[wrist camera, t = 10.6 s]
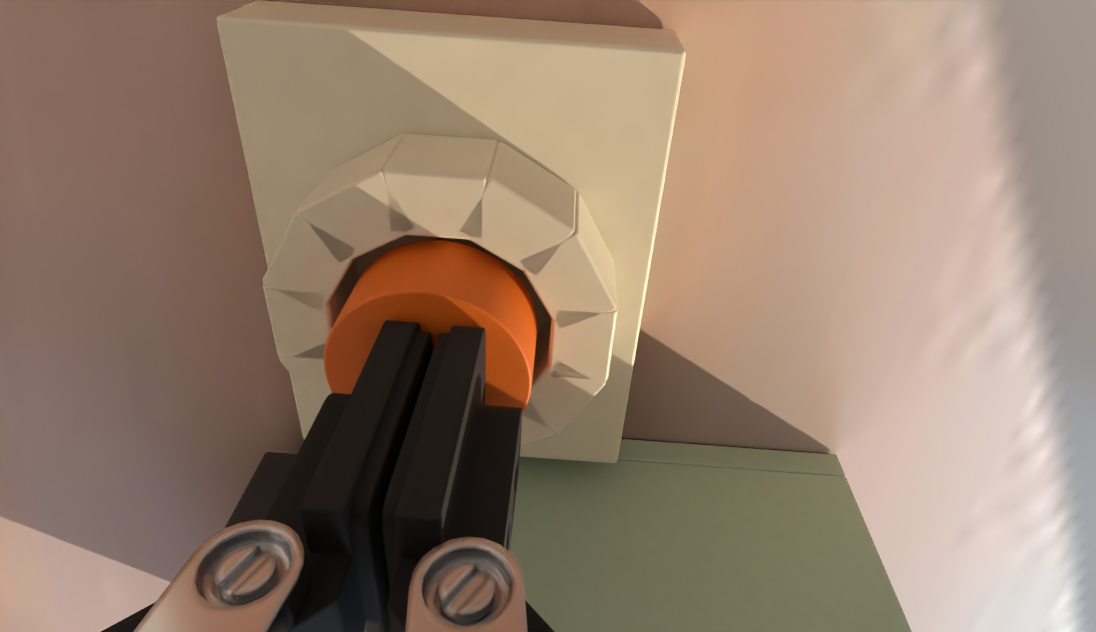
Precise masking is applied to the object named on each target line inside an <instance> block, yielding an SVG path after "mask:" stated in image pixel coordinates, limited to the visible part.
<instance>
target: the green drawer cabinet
mask: <svg viewBox="0 0 1096 632" xmlns="http://www.w3.org/2000/svg"><path fill="white" fill-rule="evenodd" d="M509 552H510V553H511V554H512V555H513V556H514V558H515V559H516V561H517V562H518V564H519V565H520V568H521V572H522V576H523V580H524V591H525V600H526V601H527V602H528V603H529V604H530V606H531V607H532V608H533V609H534V610H535V611H536V612H537V613H538V614H539V615H540V616H541V617H542V619H543V620H544V621H545V622H546V623H547V624H548V625H549V626H550V627H551V628H552V629H553V630H554V632H912V631H911V629H910V627H909V624H908V622H907V620H906V617H905V615H904V613H903V610H902V608H901V606H900V603H899V601H898V599H897V596H896V594H895V592H894V589H893V587H892V585H891V582H890V580H889V577H888V575H887V573H886V570H885V568H884V566H883V563H882V561H881V559H880V556H879V554H878V552H877V549H876V547H875V545H874V542H873V540H872V538H871V535H870V533H869V531H868V528H867V526H866V524H865V521H864V519H863V516H862V514H861V512H860V509H859V507H858V505H857V502H856V500H855V498H854V495H853V493H852V491H851V488H850V486H849V484H848V481H847V479H846V477H845V474H844V472H843V469H842V467H841V465H840V462H839V460H838V458H837V456H836V455H834V454H820V453H807V452H793V451H780V450H766V449H753V448H739V447H726V446H712V445H699V444H685V443H672V442H658V441H644V440H631V439H621V444H620V450H619V456H618V461H617V462H616V463H601V462H588V461H574V460H561V459H548V458H534V457H521V456H520V461H519V472H518V482H517V491H516V500H515V508H514V517H513V525H512V533H511V542H510V550H509Z"/></svg>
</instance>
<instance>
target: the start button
mask: <svg viewBox="0 0 1096 632" xmlns="http://www.w3.org/2000/svg"><path fill="white" fill-rule="evenodd" d="M386 320H392V321H405V322H418V323H419V324H420V327H421V331H424V332H431V335H432V349H433V350H434V347H435V344H436V341H437V338H438V335H439V333H450V331H451V328H452V326H453V325H456V326H469V327H481V328H485V330H486V378H485V405H493V406H505V407H518V408H522V414H523V412H524V410H525V408H526V406H527V404H528V401H529V398H530V394H531V388H532V379H533V369H534V358H535V348H536V338H537V317H536V311H535V308H534V305H533V302H532V299H531V297H530V295H529V293H528V291H527V289H526V288H525V287H524V285H523V284H522V282H521V281H520V280H519V278H518V277H517V276H516V275H515V274H514V273H513V272H512V271H511V270H510V269H509V268H508V267H506V266H505V265H504V264H503V263H502V262H500V261H499V260H497V259H496V258H494V257H493V256H491V255H489V254H487V253H485V252H483V251H481V250H479V249H476V248H474V247H471V246H468V245H464V244H460V243H456V242H450V241H442V240H426V241H417V242H412V243H408V244H404V245H401V246H398V247H396V248H393V249H391V250H389V251H387V252H385V253H384V254H382V255H381V256H379V257H378V258H377V259H375V260H374V261H373V262H372V263H371V264H370V265H369V266H368V267H367V268H366V269H365V270H364V272H363V273H362V275H361V276H360V277H359V279H358V281H357V283H356V285H355V287H354V288H353V290H352V292H351V294H350V296H349V298H348V300H347V301H346V303H345V305H344V307H343V309H342V311H341V313H340V314H339V316H338V318H337V320H336V322H335V324H334V325H333V327H332V329H331V331H330V333H329V336H328V338H327V341H326V345H325V348H324V370H325V374H326V378H327V382H328V384H329V387H330V389H331V392H332V393H342V394H351V393H352V391H353V389H354V387H355V384H356V382H357V380H358V378H359V376H360V374H361V371H362V369H363V367H364V365H365V363H366V360H367V358H368V356H369V354H370V352H371V349H372V347H373V345H374V343H375V341H376V339H377V336H378V334H379V332H380V330H381V328H382V325H383V324H384V322H385V321H386Z"/></svg>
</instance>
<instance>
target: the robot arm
mask: <svg viewBox="0 0 1096 632" xmlns="http://www.w3.org/2000/svg"><path fill="white" fill-rule="evenodd" d="M485 378H486V330H485V328H481V327H469V326H456V325H453V326H452V328H451V331H450V333H439V335H438V338H437V341H436V344H435V347H434V350H433V349H432V335H431V332H424V331H421V327H420V324H419V323H418V322H405V321H392V320H386V321H385V322H384V324H383V325H382V328H381V330H380V332H379V334H378V336H377V339H376V341H375V343H374V345H373V347H372V349H371V352H370V354H369V356H368V358H367V360H366V363H365V365H364V367H363V369H362V371H361V374H360V376H359V378H358V380H357V382H356V384H355V387H354V389H353V391H352V393H351V394H342V393H331V394H330V395H328V396H327V398H326V399H325V401H324V403H323V405H322V407H321V409H320V411H319V412H318V414H317V416H316V418H315V420H314V422H313V424H312V426H311V428H310V430H309V432H308V434H307V436H306V438H305V440H304V442H303V444H302V446H301V448H300V450H299V452H298V454H297V456H296V458H295V460H294V462H293V464H292V466H291V468H290V470H289V472H288V474H287V476H286V478H285V480H284V482H283V484H282V486H281V488H280V490H279V492H278V494H277V496H276V498H275V500H274V502H273V504H272V506H271V508H270V510H269V512H268V514H267V516H266V518H265V520H252V521H246V522H240V523H238V524H235V525H233V526H230V527H228V528H225V529H223V530H221V531H220V532H218V533H217V534H215V535H214V536H212V537H210V538H209V539H207V540H206V541H205V542H204V543H203V544H202V545H201V546H200V547H199V548H198V549H197V550H196V551H195V552H194V553H193V554H192V556H191V557H190V558H189V560H188V561H187V562H186V564H185V565H184V566H183V567H182V569H181V570H180V571H179V573H178V574H177V575H176V577H175V578H174V579H173V580H172V582H171V583H170V584H169V586H168V587H167V588H166V590H165V591H164V592H163V593H162V595H161V596H160V597H159V599H158V600H157V601H156V602H155V603H153V604H151V605H149V606H148V607H146V608H144V609H142V610H140V611H138V612H137V613H135V614H133V615H131V616H129V617H127V618H125V619H124V620H122V621H120V622H118V623H116V624H114V625H113V626H111V627H109V628H107V629H105V630H103V631H101V632H554V630H553V629H552V628H551V627H550V626H549V625H548V624H547V623H546V622H545V621H544V620H543V619H542V617H541V616H540V615H539V614H538V613H537V612H536V611H535V610H534V609H533V608H532V607H531V606H530V604H529V603H528V602H527V601H526V600H525V591H524V580H523V576H522V572H521V568H520V565H519V564H518V562H517V561H516V559H515V558H514V556H513V555H512V554H511V553H510V552H509V550H510V542H511V533H512V525H513V517H514V508H515V500H516V491H517V482H518V472H519V461H520V447H521V429H522V408H518V407H505V406H493V405H485Z"/></svg>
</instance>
